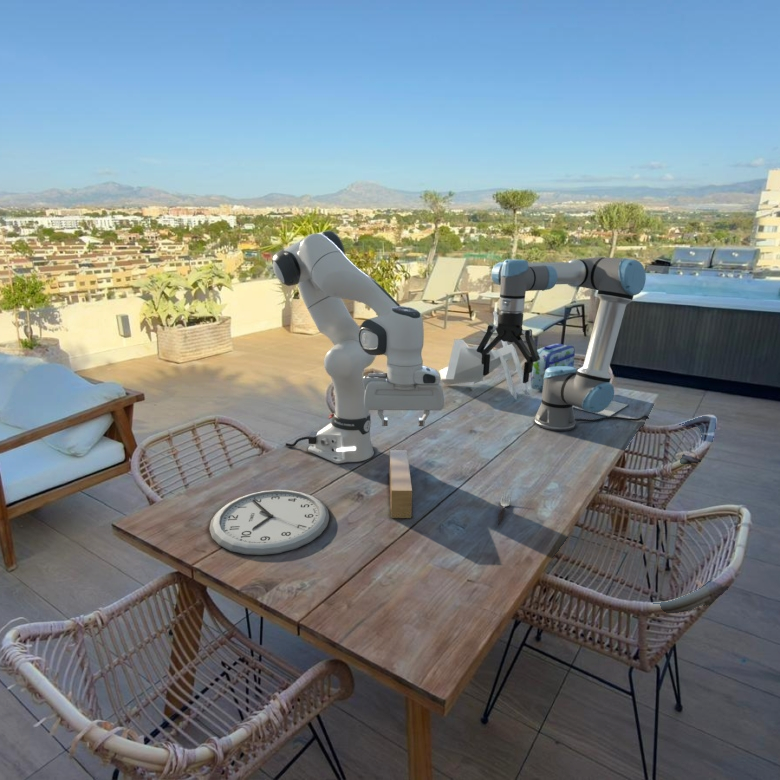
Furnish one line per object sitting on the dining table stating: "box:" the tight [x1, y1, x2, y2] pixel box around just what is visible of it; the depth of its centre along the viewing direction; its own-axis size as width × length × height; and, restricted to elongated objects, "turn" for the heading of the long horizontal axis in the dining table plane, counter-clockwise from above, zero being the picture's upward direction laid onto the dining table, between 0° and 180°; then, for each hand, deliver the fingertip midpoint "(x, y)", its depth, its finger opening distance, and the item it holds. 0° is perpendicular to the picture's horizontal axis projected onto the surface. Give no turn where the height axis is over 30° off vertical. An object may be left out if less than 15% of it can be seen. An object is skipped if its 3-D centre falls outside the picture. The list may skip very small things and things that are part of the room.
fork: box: [497, 491, 512, 526], centre depth 140 cm, size 3×16×2 cm, turn 160°
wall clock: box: [209, 489, 330, 556], centre depth 135 cm, size 30×2×30 cm
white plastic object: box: [438, 310, 531, 400], centre depth 245 cm, size 37×45×31 cm
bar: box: [388, 449, 413, 519], centre depth 148 cm, size 26×5×8 cm, turn 1°
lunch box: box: [530, 343, 576, 391], centre depth 249 cm, size 26×11×21 cm, turn 134°
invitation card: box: [573, 400, 629, 417], centre depth 226 cm, size 21×1×15 cm
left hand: (403, 425), depth 134 cm, fingers open, 8 cm apart
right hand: (505, 378), depth 166 cm, fingers open, 13 cm apart
